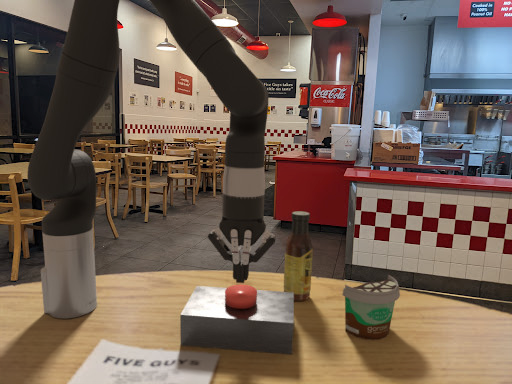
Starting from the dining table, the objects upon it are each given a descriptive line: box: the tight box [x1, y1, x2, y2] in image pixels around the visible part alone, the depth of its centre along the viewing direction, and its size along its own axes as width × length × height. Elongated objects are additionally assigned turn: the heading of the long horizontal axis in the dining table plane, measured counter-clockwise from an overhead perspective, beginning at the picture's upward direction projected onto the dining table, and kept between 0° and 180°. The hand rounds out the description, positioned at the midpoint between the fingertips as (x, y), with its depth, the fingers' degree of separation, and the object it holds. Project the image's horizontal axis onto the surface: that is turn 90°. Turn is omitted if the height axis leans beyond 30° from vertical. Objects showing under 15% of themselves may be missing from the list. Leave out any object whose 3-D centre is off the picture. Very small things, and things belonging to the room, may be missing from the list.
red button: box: [225, 284, 258, 309], centre depth 74 cm, size 6×6×7 cm
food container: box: [342, 274, 401, 341], centre depth 75 cm, size 12×6×10 cm, turn 117°
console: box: [179, 285, 295, 355], centre depth 74 cm, size 20×12×6 cm, turn 85°
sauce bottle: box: [283, 211, 314, 302], centre depth 89 cm, size 7×6×20 cm
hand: (240, 281), depth 73 cm, fingers closed
